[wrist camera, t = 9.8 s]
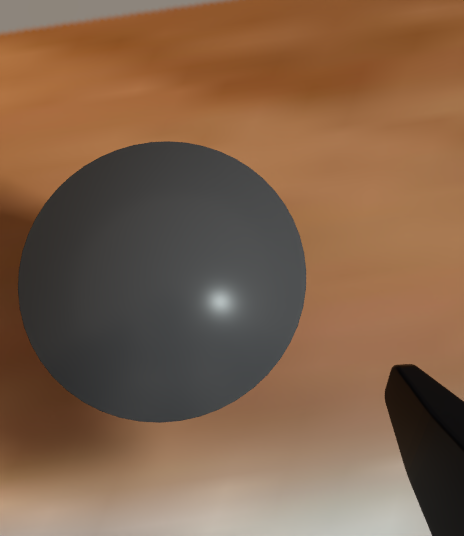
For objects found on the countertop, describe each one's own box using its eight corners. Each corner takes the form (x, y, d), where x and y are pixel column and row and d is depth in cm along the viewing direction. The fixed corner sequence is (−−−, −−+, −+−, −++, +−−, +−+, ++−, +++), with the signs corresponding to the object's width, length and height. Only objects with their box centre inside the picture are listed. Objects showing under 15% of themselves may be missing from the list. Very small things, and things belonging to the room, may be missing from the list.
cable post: (217, 400, 17) (216, 483, 6) (122, 343, 17) (-43, 324, 6) (270, 302, 18) (353, 221, 7) (179, 251, 18) (122, 98, 7)
